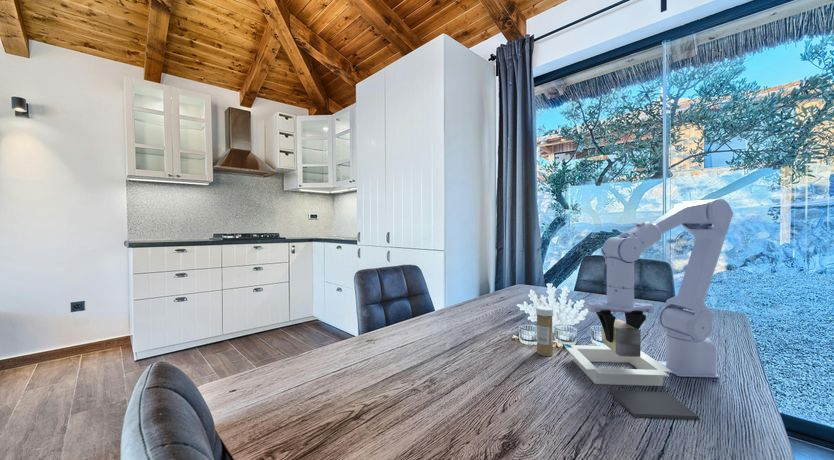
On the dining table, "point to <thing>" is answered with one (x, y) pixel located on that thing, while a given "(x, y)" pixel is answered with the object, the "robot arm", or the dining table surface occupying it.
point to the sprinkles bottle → (544, 330)
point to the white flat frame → (643, 375)
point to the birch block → (624, 339)
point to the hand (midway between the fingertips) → (619, 341)
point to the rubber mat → (653, 404)
